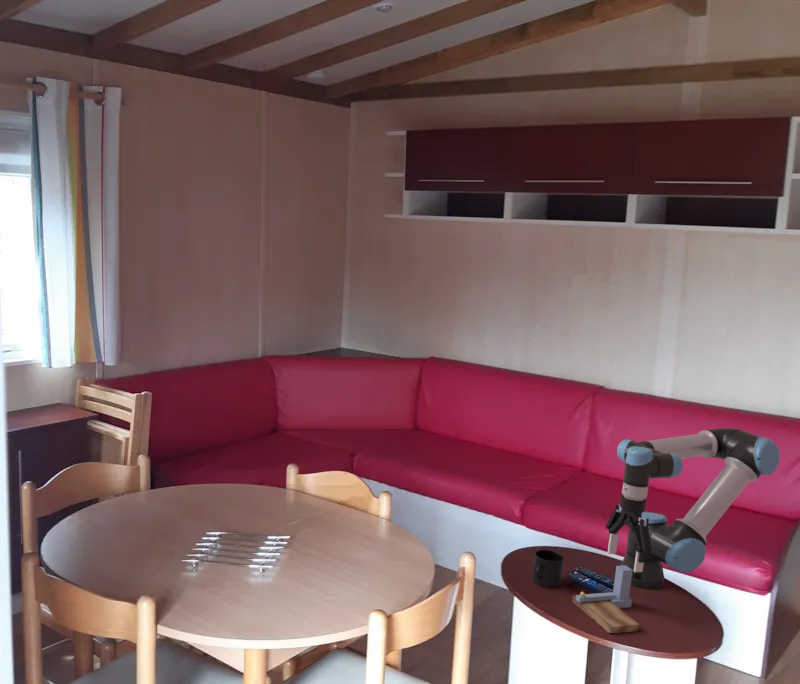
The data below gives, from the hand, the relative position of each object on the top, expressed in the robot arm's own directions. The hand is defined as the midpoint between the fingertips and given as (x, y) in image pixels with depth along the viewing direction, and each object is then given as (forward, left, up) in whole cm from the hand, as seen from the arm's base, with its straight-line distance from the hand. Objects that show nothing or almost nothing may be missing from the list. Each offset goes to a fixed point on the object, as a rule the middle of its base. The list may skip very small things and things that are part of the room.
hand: (624, 562), depth 242 cm
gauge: (+6, 0, -14) cm, 15 cm away
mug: (+16, -18, -14) cm, 28 cm away
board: (+9, +6, -14) cm, 18 cm away
